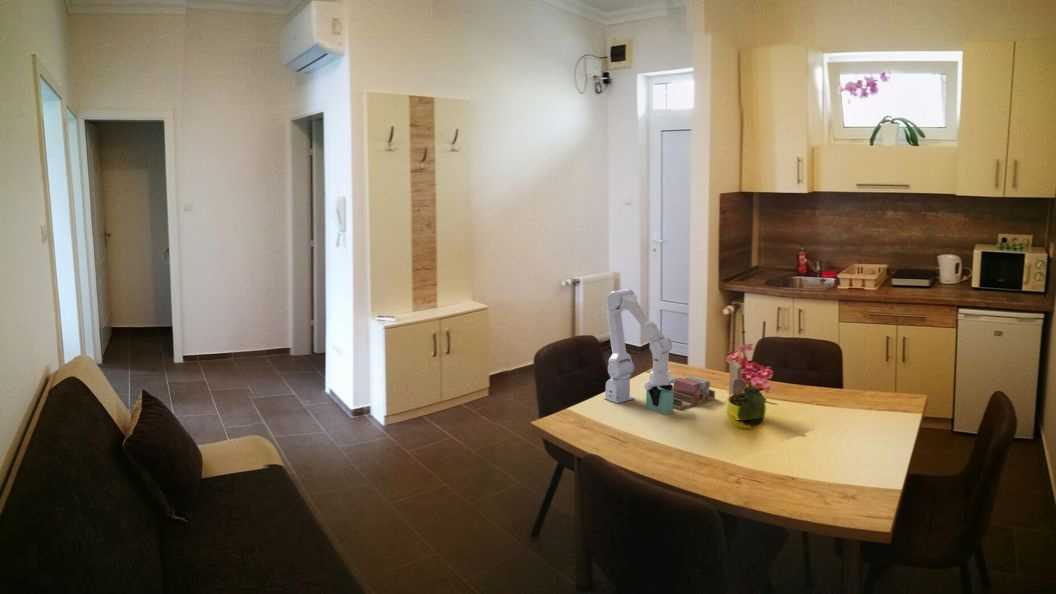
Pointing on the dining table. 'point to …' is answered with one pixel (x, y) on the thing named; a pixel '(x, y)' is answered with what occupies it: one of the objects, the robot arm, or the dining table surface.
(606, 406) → the dining table surface
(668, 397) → the teal book
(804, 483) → the dining table surface
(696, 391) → the book rack
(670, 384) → the medicine bottle
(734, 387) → the decorative block
